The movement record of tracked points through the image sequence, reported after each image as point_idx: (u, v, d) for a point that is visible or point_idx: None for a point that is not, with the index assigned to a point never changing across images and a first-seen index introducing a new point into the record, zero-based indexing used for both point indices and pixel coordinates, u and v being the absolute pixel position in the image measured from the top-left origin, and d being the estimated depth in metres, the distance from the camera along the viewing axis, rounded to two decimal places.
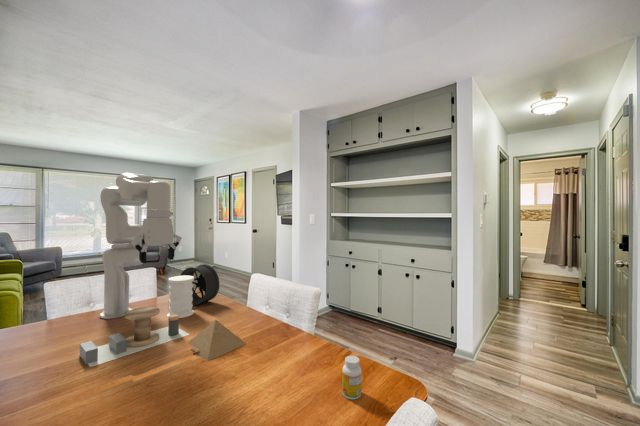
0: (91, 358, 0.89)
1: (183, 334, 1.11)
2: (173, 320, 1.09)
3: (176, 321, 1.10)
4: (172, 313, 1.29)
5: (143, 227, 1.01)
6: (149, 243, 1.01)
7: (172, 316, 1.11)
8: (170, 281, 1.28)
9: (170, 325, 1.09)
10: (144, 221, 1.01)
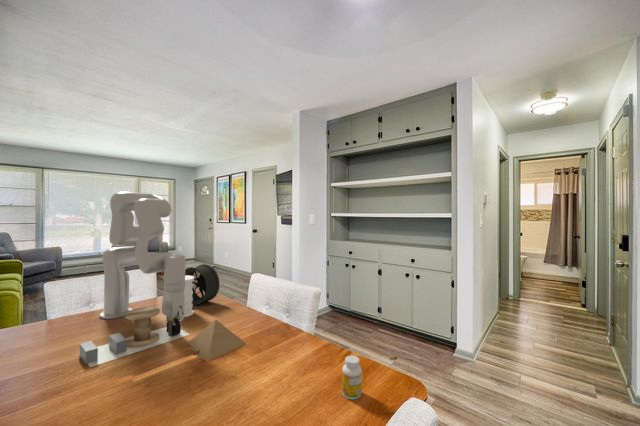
0: (91, 358, 0.89)
1: (183, 334, 1.11)
2: None
3: None
4: None
5: (179, 300, 1.08)
6: None
7: None
8: None
9: (170, 325, 1.09)
10: (179, 294, 1.08)
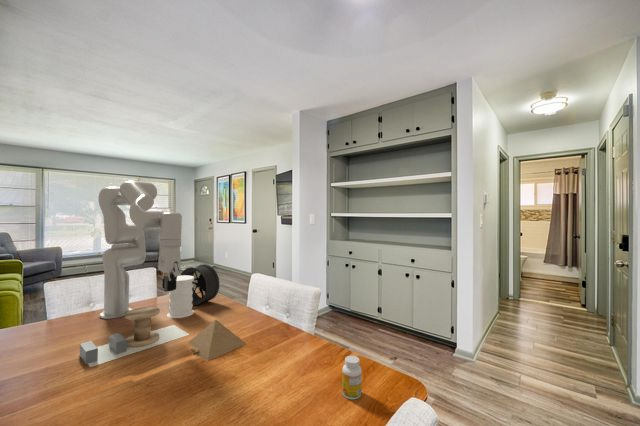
0: (91, 358, 0.89)
1: (183, 334, 1.11)
2: None
3: None
4: (172, 313, 1.29)
5: (175, 256, 1.09)
6: None
7: None
8: None
9: (166, 281, 1.11)
10: (175, 250, 1.09)
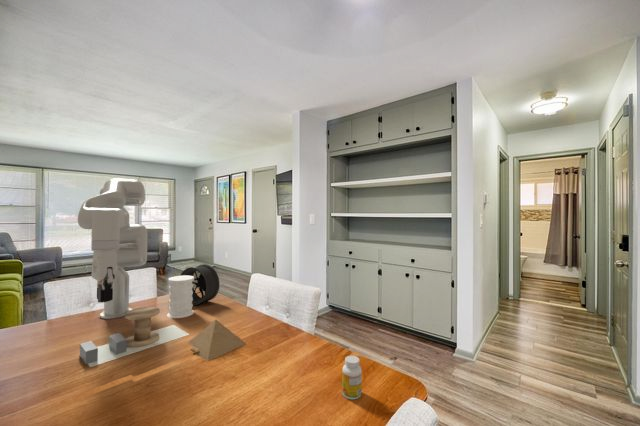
0: (91, 358, 0.89)
1: (183, 334, 1.11)
2: None
3: None
4: (172, 313, 1.29)
5: (109, 260, 0.92)
6: None
7: None
8: (170, 281, 1.28)
9: (99, 290, 0.93)
10: (108, 253, 0.92)
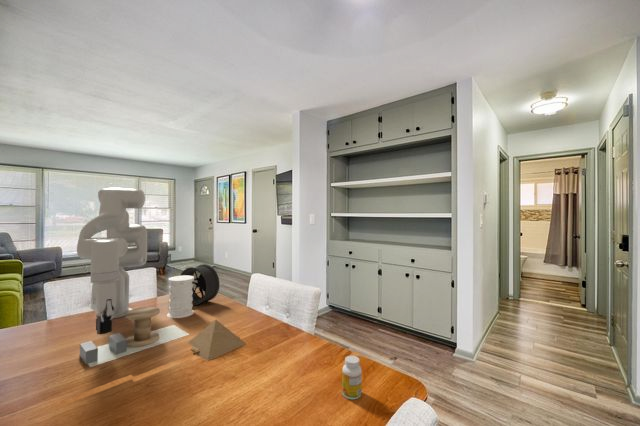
0: (91, 358, 0.89)
1: (183, 334, 1.11)
2: None
3: None
4: (172, 313, 1.29)
5: (108, 292, 0.92)
6: None
7: None
8: (170, 281, 1.28)
9: (99, 322, 0.93)
10: (108, 285, 0.92)
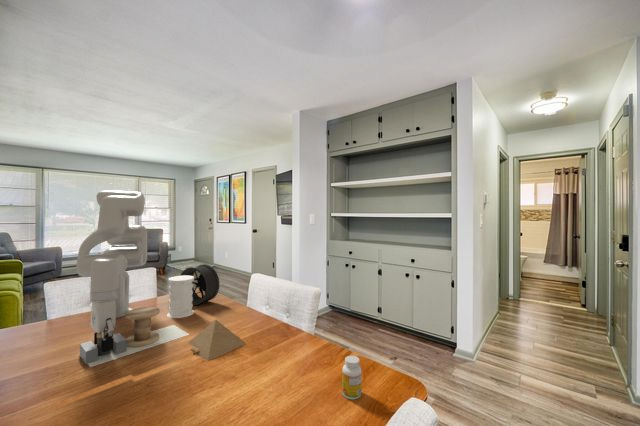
0: (91, 358, 0.89)
1: (183, 334, 1.11)
2: None
3: None
4: (172, 313, 1.29)
5: (108, 311, 0.92)
6: None
7: None
8: (170, 281, 1.28)
9: (98, 343, 0.93)
10: (107, 305, 0.92)
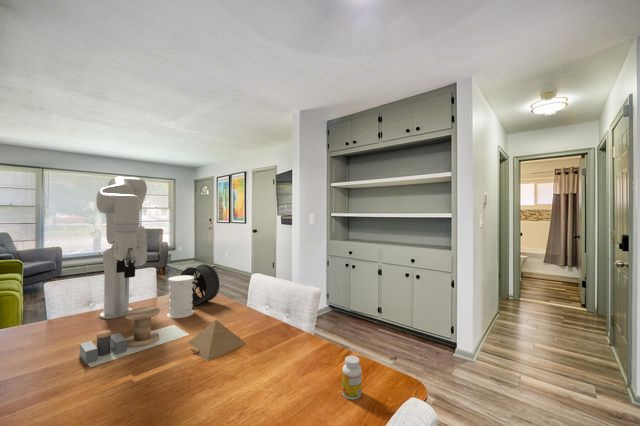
0: (91, 358, 0.89)
1: (183, 334, 1.11)
2: (102, 337, 0.93)
3: (106, 338, 0.94)
4: (172, 313, 1.29)
5: (129, 242, 1.00)
6: None
7: (102, 332, 0.95)
8: (170, 281, 1.28)
9: (98, 343, 0.93)
10: (129, 236, 1.00)
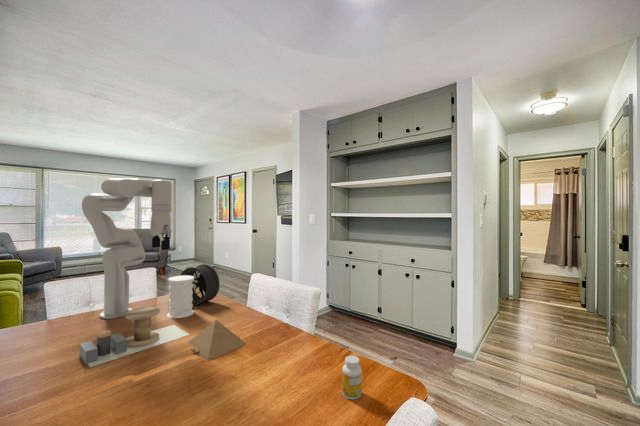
0: (91, 358, 0.89)
1: (183, 334, 1.11)
2: (102, 337, 0.93)
3: (106, 338, 0.94)
4: (172, 313, 1.29)
5: (165, 219, 1.18)
6: None
7: (102, 332, 0.95)
8: (170, 281, 1.28)
9: (98, 343, 0.93)
10: (165, 214, 1.18)
